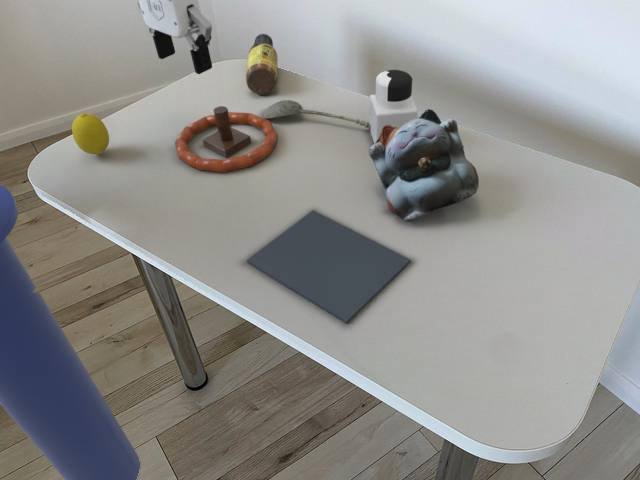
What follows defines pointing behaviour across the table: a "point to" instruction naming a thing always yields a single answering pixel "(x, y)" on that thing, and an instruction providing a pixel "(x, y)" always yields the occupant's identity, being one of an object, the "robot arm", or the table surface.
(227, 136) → the post stand
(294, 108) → the soupspoon
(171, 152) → the table surface
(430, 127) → the lucky cat figurine
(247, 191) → the table surface
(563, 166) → the table surface
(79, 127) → the lemon
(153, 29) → the robot arm
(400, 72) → the medicine bottle
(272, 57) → the sauce bottle
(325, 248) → the mat
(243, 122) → the ring
